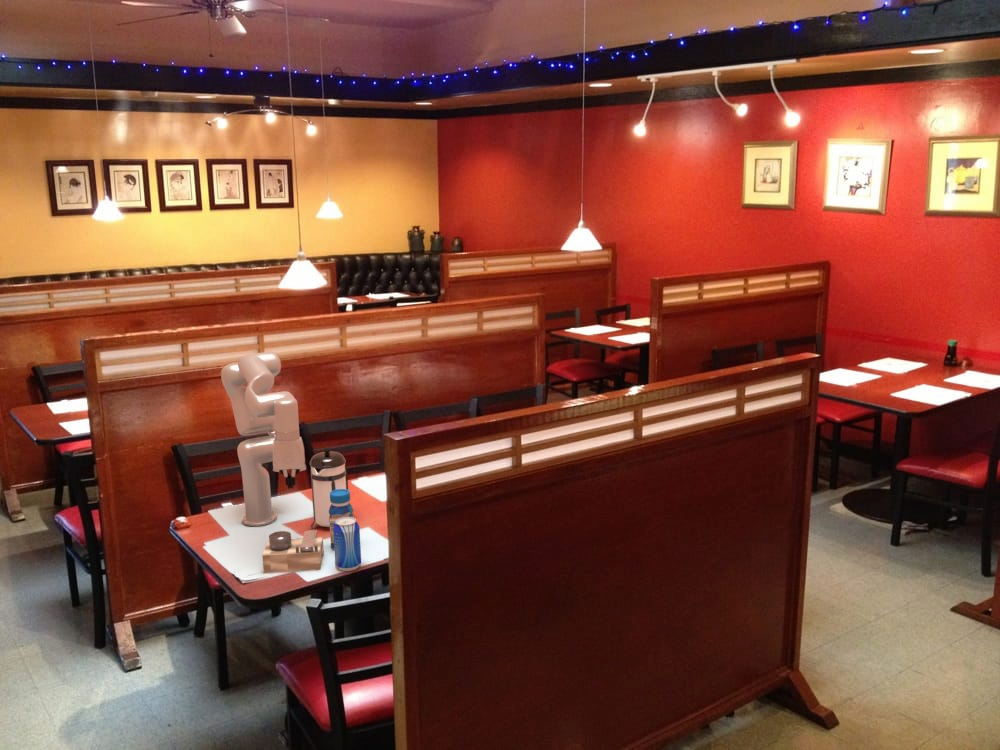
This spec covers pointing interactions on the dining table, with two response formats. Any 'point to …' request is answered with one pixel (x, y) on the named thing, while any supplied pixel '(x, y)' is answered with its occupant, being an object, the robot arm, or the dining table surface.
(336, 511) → the beverage bottle
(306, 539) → the bar
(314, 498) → the coffee press
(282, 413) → the robot arm
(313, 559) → the board
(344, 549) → the beer can
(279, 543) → the pin
